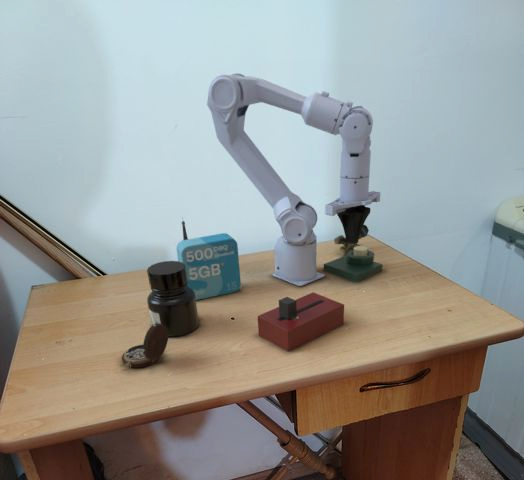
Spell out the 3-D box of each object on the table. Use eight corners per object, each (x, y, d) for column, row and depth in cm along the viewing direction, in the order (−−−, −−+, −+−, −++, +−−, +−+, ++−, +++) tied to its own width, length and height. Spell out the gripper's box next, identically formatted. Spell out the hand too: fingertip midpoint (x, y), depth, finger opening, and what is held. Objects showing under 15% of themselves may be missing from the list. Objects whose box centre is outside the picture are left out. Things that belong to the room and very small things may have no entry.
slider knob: (279, 315, 83) (278, 300, 81) (287, 311, 84) (287, 296, 82) (288, 319, 81) (287, 304, 80) (296, 316, 82) (296, 300, 81)
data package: (188, 302, 99) (180, 247, 93) (183, 294, 103) (175, 241, 97) (241, 290, 103) (237, 237, 97) (234, 283, 107) (230, 231, 100)
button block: (323, 270, 110) (323, 256, 109) (351, 259, 116) (352, 245, 114) (356, 282, 104) (357, 267, 102) (385, 269, 109) (386, 255, 107)
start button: (350, 255, 109) (350, 248, 108) (359, 252, 111) (359, 244, 110) (361, 258, 107) (361, 251, 106) (370, 255, 109) (370, 247, 108)
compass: (136, 347, 84) (128, 310, 80) (174, 354, 81) (167, 317, 78) (107, 370, 78) (97, 332, 74) (147, 379, 75) (138, 340, 71)
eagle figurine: (367, 254, 115) (375, 236, 121) (351, 230, 113) (360, 213, 118) (342, 266, 120) (351, 248, 126) (326, 244, 118) (336, 227, 124)
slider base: (258, 335, 85) (257, 315, 83) (313, 310, 93) (313, 291, 91) (288, 351, 80) (287, 330, 78) (343, 323, 87) (344, 304, 85)
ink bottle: (159, 315, 95) (148, 258, 88) (202, 314, 94) (194, 257, 88) (147, 339, 86) (134, 279, 80) (195, 338, 86) (185, 277, 80)
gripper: (344, 184, 87) (342, 255, 94) (394, 171, 94) (388, 237, 101) (317, 180, 92) (317, 247, 99) (366, 168, 99) (363, 231, 106)
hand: (352, 242), depth 100 cm, fingers closed
